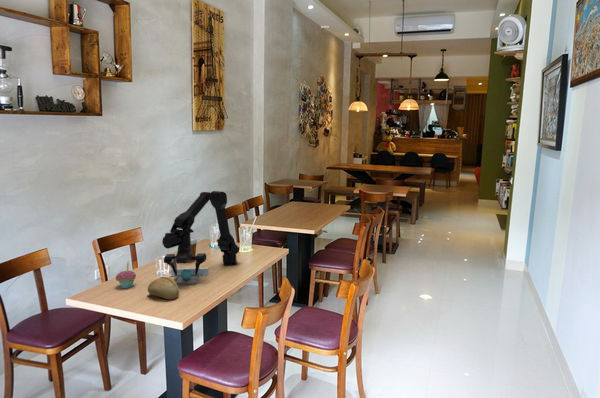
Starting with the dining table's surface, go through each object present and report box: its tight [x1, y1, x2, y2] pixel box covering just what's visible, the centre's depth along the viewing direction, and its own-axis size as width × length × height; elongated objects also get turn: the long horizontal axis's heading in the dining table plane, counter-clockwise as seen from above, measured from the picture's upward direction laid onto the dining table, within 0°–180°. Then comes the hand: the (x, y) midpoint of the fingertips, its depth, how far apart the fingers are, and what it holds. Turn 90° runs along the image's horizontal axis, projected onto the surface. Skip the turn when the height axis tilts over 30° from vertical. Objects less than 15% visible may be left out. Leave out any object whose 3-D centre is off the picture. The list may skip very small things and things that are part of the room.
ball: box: [181, 269, 192, 280], centre depth 210 cm, size 5×5×5 cm
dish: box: [173, 274, 202, 286], centre depth 210 cm, size 11×11×1 cm
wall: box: [170, 267, 210, 277], centre depth 217 cm, size 18×1×4 cm, turn 91°
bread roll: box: [147, 276, 180, 300], centre depth 191 cm, size 10×15×8 cm, turn 65°
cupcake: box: [115, 261, 137, 289], centre depth 203 cm, size 9×8×12 cm
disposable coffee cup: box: [186, 236, 198, 264], centre depth 240 cm, size 10×10×12 cm
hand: (186, 275), depth 210 cm, fingers open, 9 cm apart
